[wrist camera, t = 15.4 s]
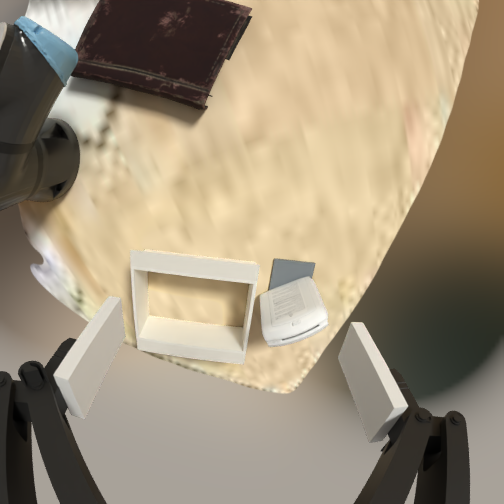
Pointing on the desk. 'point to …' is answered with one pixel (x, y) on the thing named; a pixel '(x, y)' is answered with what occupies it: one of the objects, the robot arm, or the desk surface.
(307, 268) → the mat
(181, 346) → the carton
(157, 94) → the diary
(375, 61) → the desk surface
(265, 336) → the photo printer
